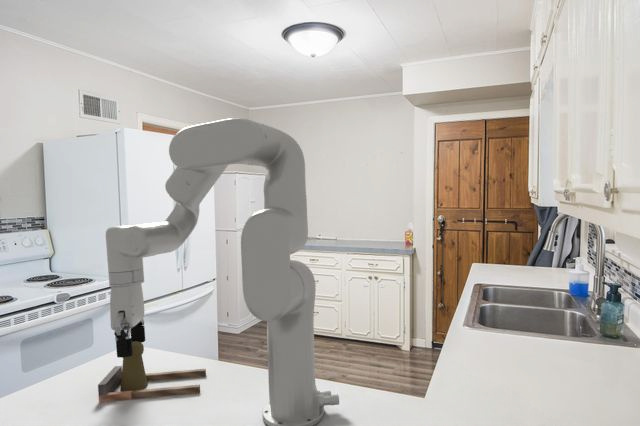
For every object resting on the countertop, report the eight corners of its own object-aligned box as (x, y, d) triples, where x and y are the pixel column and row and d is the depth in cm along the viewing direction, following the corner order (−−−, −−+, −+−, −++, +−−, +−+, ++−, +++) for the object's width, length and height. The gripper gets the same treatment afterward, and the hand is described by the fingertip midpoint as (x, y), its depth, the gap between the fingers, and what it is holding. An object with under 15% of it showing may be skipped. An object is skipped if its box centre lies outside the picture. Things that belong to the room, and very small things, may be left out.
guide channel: (205, 374, 106) (205, 359, 106) (199, 393, 96) (198, 376, 95) (115, 382, 103) (114, 366, 103) (98, 402, 93) (97, 384, 93)
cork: (137, 394, 96) (135, 347, 96) (114, 393, 97) (112, 347, 97) (152, 382, 102) (150, 338, 102) (130, 381, 103) (128, 338, 103)
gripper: (122, 273, 106) (127, 339, 106) (94, 286, 89) (100, 364, 89) (153, 270, 107) (158, 336, 107) (131, 283, 90) (137, 361, 90)
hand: (132, 349), depth 98 cm, fingers open, 9 cm apart
